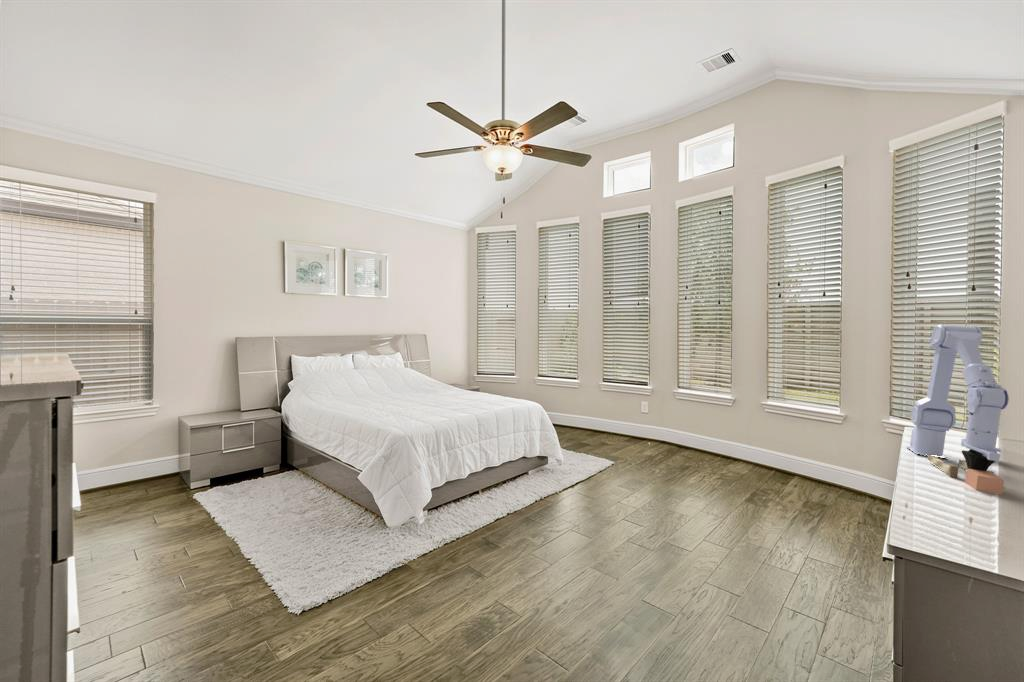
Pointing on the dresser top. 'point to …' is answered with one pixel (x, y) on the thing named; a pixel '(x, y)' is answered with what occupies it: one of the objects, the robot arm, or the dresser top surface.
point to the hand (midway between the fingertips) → (975, 478)
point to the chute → (951, 469)
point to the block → (984, 481)
